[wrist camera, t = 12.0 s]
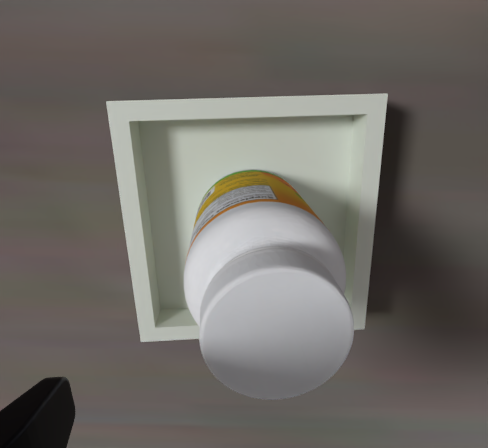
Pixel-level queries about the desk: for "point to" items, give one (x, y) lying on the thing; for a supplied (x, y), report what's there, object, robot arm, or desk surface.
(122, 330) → the desk surface
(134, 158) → the tray
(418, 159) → the desk surface
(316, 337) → the supplement bottle
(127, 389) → the desk surface
